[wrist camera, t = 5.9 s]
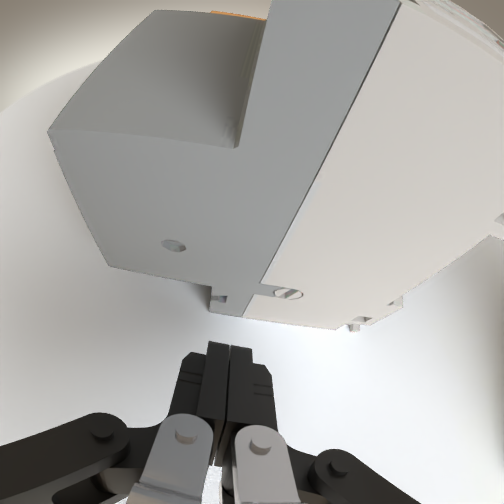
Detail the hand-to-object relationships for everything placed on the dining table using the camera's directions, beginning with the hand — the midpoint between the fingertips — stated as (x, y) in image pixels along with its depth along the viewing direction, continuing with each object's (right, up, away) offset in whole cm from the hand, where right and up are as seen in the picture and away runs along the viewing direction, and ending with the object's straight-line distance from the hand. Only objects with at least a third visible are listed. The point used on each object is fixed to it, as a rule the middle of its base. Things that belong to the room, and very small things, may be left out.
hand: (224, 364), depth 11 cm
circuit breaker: (0, +4, +7) cm, 8 cm away
